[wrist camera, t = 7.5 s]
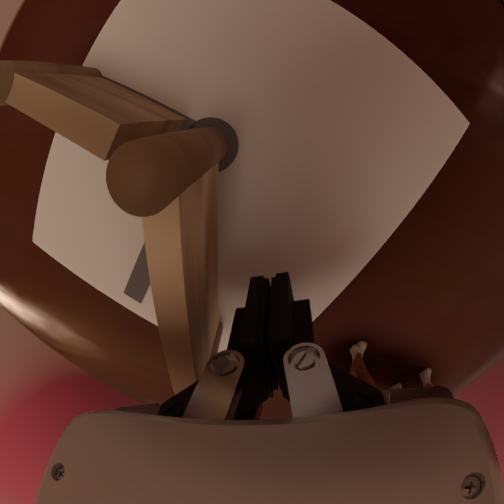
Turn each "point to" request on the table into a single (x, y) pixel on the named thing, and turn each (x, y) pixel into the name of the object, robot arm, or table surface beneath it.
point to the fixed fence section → (83, 105)
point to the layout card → (259, 145)
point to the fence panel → (177, 237)
